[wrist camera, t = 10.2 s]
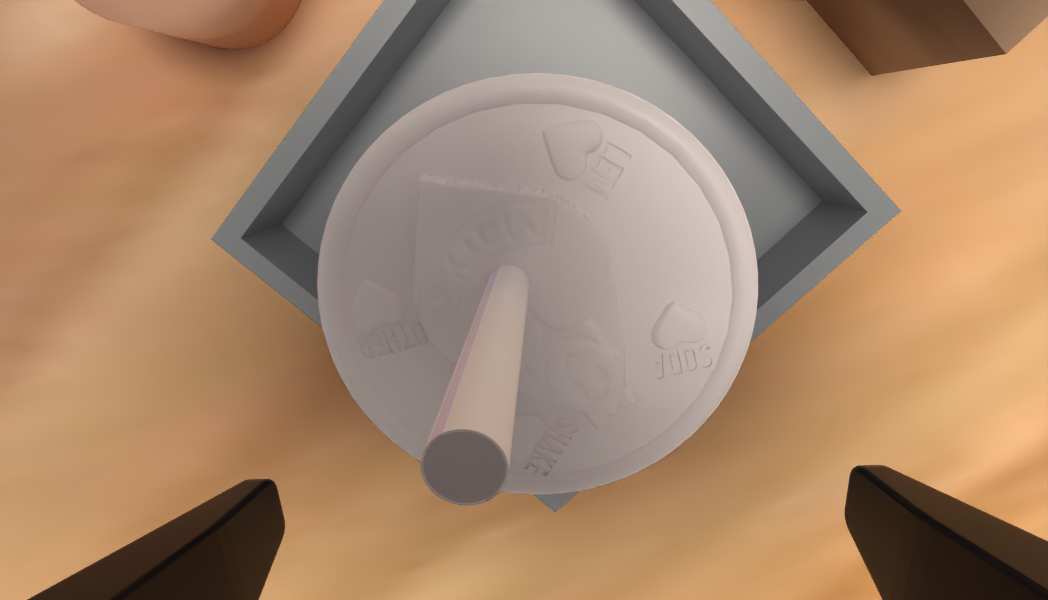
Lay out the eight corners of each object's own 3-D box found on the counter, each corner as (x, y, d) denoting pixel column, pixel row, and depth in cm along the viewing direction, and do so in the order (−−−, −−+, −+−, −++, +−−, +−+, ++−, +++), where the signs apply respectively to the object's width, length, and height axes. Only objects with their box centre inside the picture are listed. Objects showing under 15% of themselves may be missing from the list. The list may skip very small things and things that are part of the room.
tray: (267, 220, 18) (210, 239, 15) (532, -133, 15) (529, -200, 12) (553, 454, 20) (555, 511, 17) (837, 195, 17) (900, 210, 14)
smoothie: (559, 56, 15) (645, -427, 2) (684, 229, 17) (1222, 610, 3) (397, 196, 17) (-173, 444, 3) (524, 346, 18) (467, 939, 5)
